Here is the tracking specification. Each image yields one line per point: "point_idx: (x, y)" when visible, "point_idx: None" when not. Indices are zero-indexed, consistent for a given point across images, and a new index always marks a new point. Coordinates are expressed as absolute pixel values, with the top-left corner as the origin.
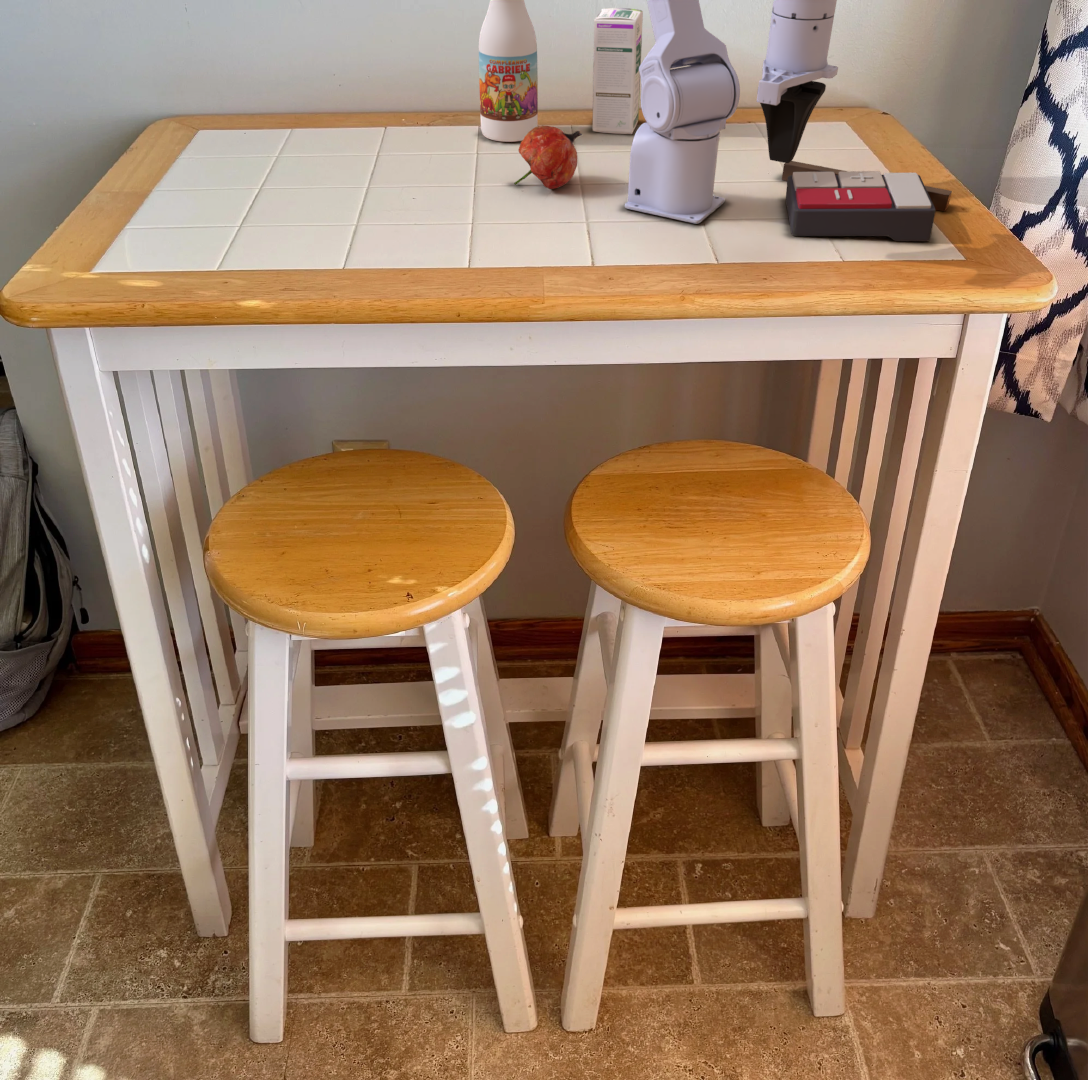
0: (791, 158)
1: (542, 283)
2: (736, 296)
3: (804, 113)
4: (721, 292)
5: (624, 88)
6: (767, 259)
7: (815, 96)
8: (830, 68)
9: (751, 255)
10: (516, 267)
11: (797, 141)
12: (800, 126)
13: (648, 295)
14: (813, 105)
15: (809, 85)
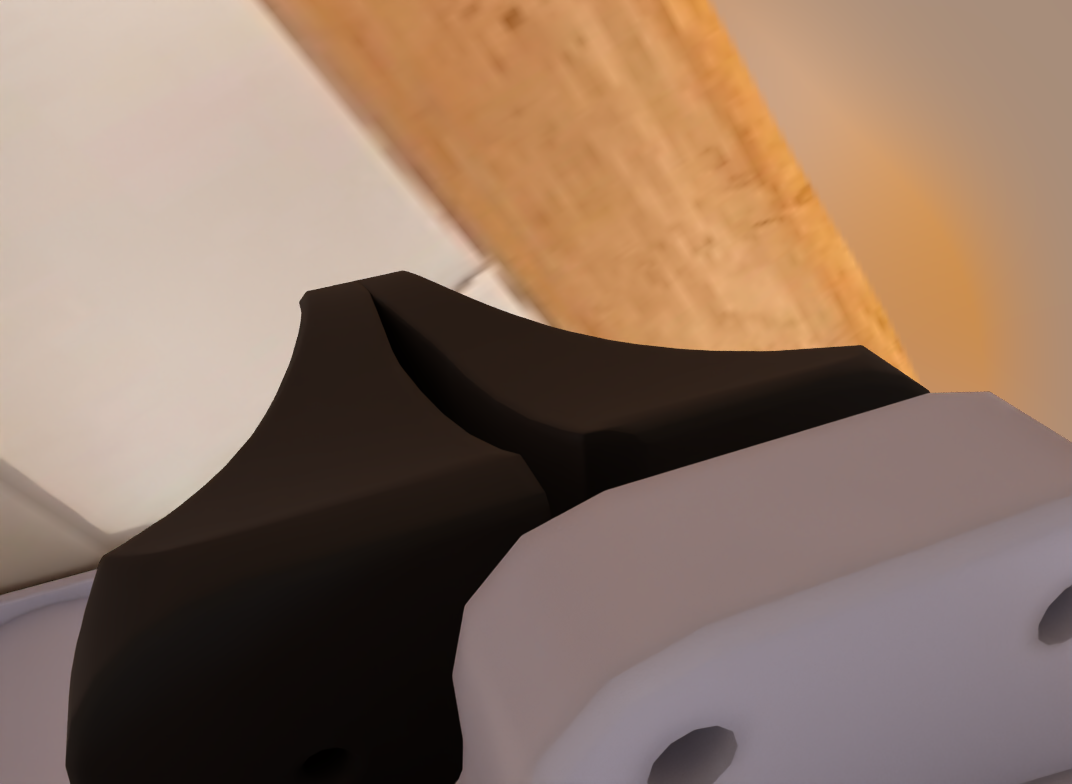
0: (389, 278)
1: None
2: (716, 36)
3: (737, 352)
4: (711, 105)
5: None
6: (312, 119)
7: (757, 409)
8: (898, 721)
9: (323, 201)
10: None
11: (422, 312)
12: (542, 346)
13: (831, 288)
14: (392, 448)
15: (423, 748)
